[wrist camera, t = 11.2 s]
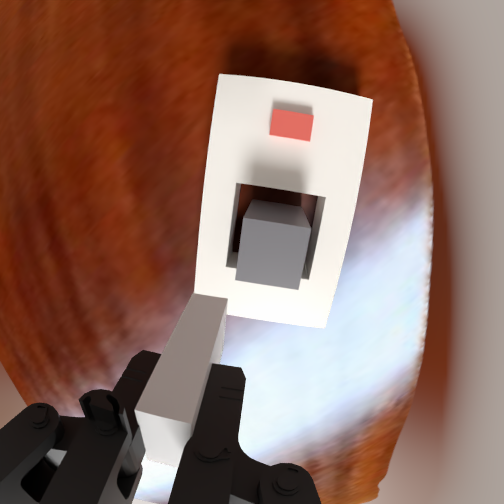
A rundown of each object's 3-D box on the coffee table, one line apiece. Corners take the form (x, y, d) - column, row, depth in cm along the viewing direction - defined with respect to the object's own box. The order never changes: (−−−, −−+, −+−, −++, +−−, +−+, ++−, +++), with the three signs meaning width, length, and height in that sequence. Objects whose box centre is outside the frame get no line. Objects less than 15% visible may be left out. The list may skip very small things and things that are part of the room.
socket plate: (227, 84, 24) (217, 71, 20) (359, 106, 24) (375, 98, 19) (203, 289, 31) (191, 312, 26) (319, 307, 30) (325, 333, 26)
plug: (252, 199, 28) (243, 217, 20) (301, 206, 27) (311, 228, 20) (245, 245, 29) (234, 280, 21) (292, 253, 29) (298, 290, 21)
